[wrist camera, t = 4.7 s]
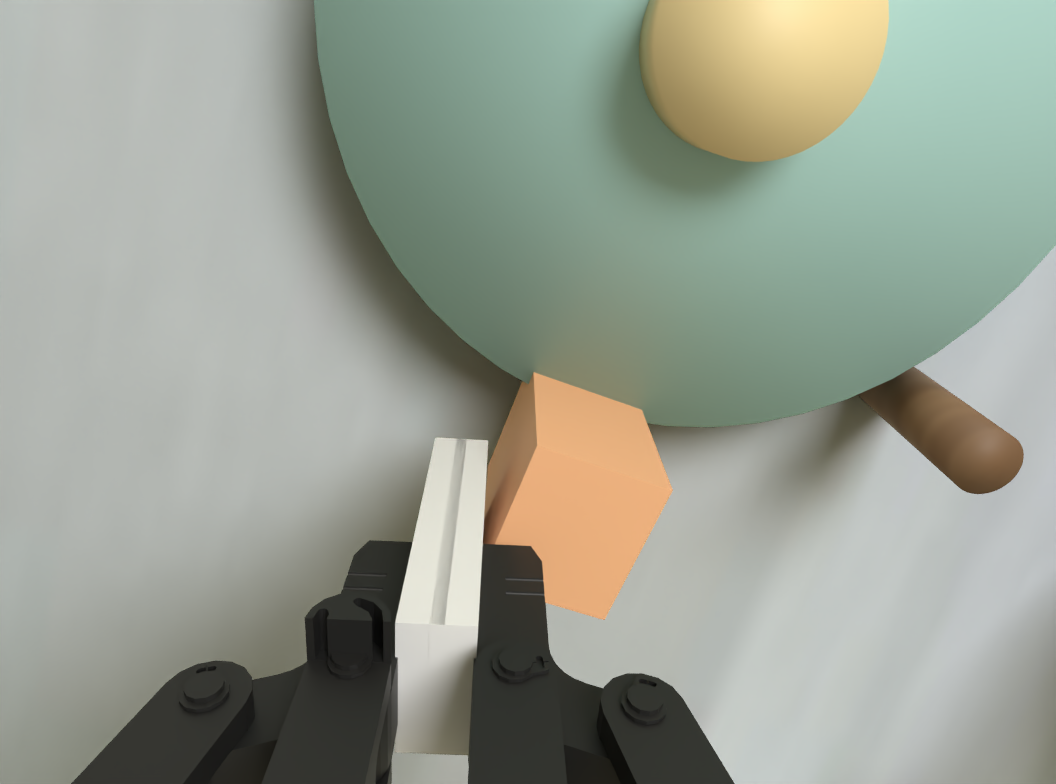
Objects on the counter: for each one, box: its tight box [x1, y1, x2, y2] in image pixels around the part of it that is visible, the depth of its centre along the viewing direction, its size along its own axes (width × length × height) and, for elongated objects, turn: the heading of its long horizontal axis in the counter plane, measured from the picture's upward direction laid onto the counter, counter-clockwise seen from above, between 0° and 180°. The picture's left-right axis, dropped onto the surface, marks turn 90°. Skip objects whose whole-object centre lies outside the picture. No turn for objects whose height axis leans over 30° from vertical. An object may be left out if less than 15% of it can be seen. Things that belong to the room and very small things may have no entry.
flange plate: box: [314, 0, 1056, 620], centre depth 14 cm, size 18×21×5 cm
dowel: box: [858, 367, 1024, 494], centre depth 18 cm, size 2×2×5 cm
